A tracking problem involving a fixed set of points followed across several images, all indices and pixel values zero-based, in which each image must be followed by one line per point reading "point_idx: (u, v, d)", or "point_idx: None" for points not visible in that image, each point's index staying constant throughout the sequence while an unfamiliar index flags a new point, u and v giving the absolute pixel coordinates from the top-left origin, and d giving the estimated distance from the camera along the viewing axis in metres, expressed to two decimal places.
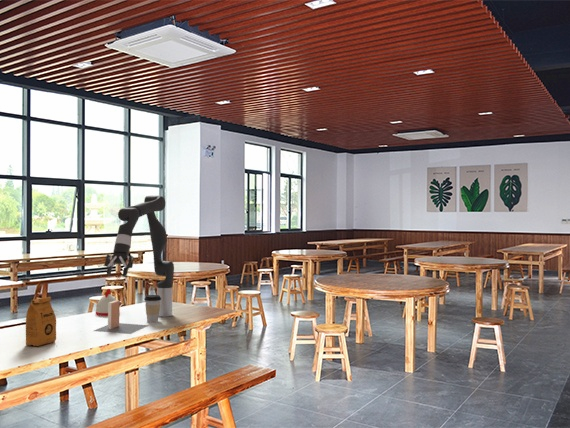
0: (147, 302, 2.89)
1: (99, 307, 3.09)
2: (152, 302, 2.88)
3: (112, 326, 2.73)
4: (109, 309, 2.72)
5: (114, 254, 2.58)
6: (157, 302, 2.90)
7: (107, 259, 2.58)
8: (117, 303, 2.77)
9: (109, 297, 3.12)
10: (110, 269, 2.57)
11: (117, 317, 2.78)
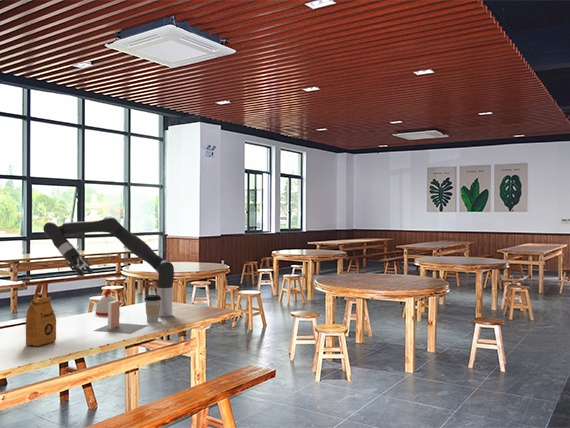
0: (147, 302, 2.89)
1: (99, 307, 3.09)
2: (152, 302, 2.88)
3: (112, 326, 2.73)
4: (109, 309, 2.72)
5: None
6: (157, 302, 2.90)
7: (83, 263, 2.86)
8: (117, 303, 2.77)
9: (109, 297, 3.12)
10: (87, 269, 2.83)
11: (117, 317, 2.78)
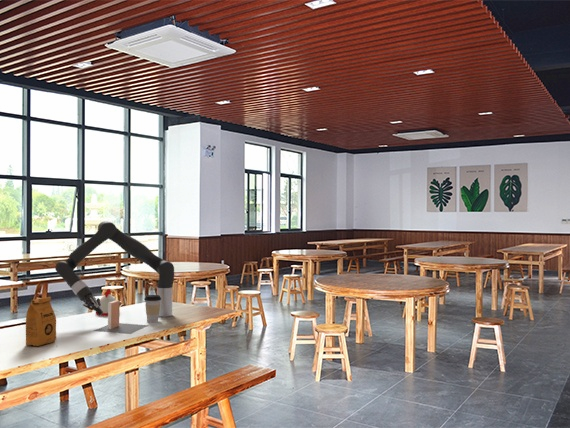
0: (147, 302, 2.89)
1: None
2: (152, 302, 2.88)
3: (112, 326, 2.73)
4: (109, 309, 2.72)
5: None
6: (157, 302, 2.90)
7: None
8: (117, 303, 2.77)
9: (109, 297, 3.12)
10: None
11: (117, 317, 2.78)
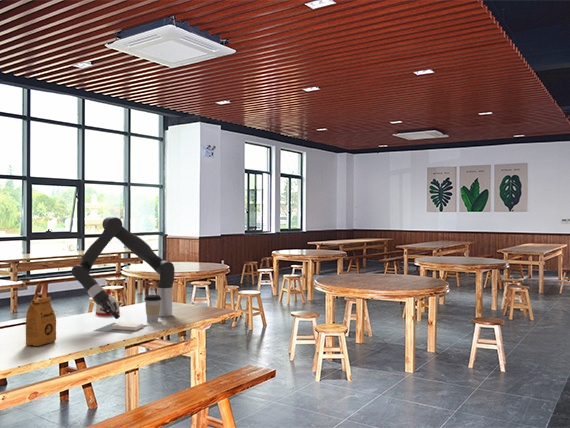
0: (147, 302, 2.89)
1: (99, 307, 3.09)
2: (152, 302, 2.88)
3: None
4: (129, 328, 2.69)
5: None
6: (157, 302, 2.90)
7: None
8: None
9: (109, 297, 3.12)
10: None
11: None
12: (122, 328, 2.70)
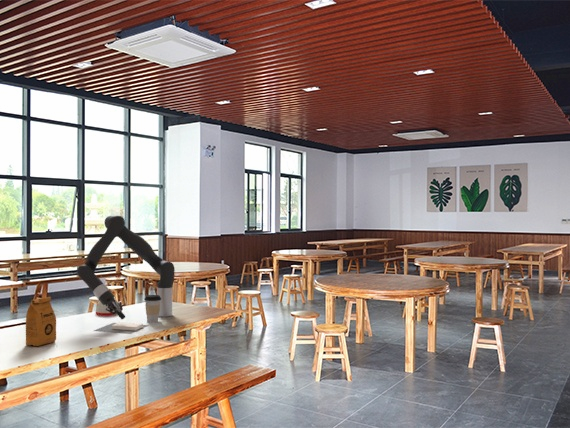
0: (147, 302, 2.89)
1: (99, 307, 3.09)
2: (152, 302, 2.88)
3: None
4: (129, 328, 2.69)
5: None
6: (157, 302, 2.90)
7: None
8: None
9: None
10: None
11: None
12: (122, 328, 2.70)
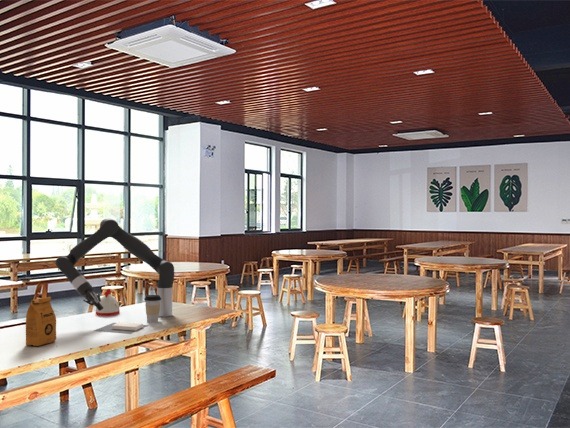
0: (147, 302, 2.89)
1: None
2: (152, 302, 2.88)
3: None
4: (129, 328, 2.69)
5: None
6: (157, 302, 2.90)
7: None
8: None
9: (109, 297, 3.12)
10: None
11: None
12: (122, 328, 2.70)
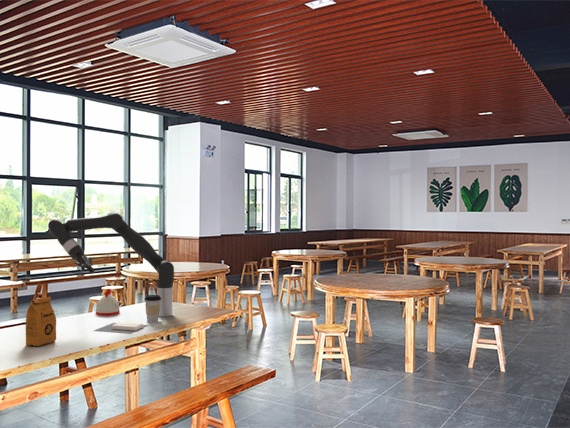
0: (147, 302, 2.89)
1: (99, 307, 3.09)
2: (152, 302, 2.88)
3: None
4: (129, 328, 2.69)
5: None
6: (157, 302, 2.90)
7: None
8: None
9: (109, 297, 3.12)
10: None
11: None
12: (122, 328, 2.70)
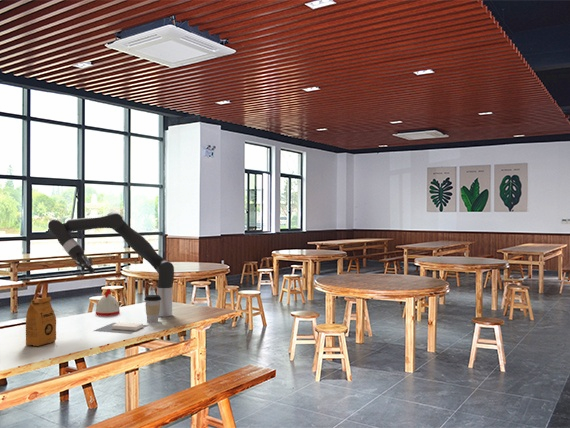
0: (147, 302, 2.89)
1: (99, 307, 3.09)
2: (152, 302, 2.88)
3: None
4: (129, 328, 2.69)
5: None
6: (157, 302, 2.90)
7: None
8: None
9: (109, 297, 3.12)
10: None
11: None
12: (122, 328, 2.70)
